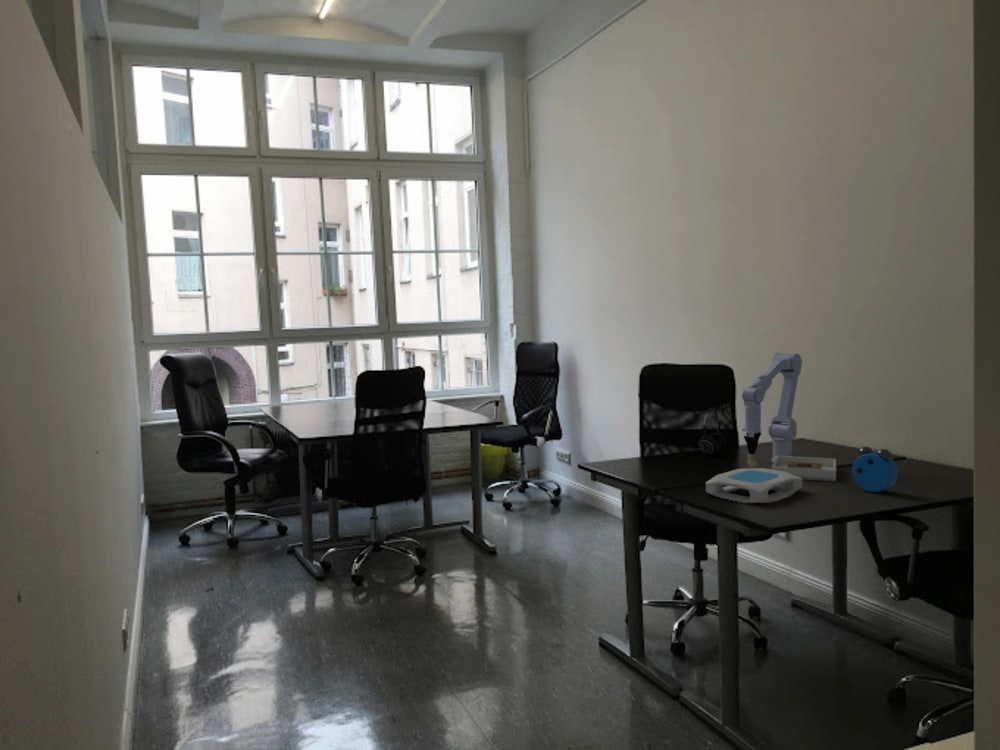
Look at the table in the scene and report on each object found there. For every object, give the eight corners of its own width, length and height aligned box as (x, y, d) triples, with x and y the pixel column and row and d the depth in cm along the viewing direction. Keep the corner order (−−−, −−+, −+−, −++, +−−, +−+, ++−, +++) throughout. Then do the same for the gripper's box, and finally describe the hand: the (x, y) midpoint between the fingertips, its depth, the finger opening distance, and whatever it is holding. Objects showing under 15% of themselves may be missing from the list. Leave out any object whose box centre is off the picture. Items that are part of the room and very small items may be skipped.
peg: (748, 467, 310) (748, 449, 310) (757, 467, 309) (757, 450, 308) (747, 469, 307) (747, 451, 306) (757, 469, 306) (757, 452, 305)
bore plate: (788, 466, 306) (788, 461, 306) (821, 468, 301) (821, 463, 301) (786, 472, 295) (786, 467, 295) (821, 474, 290) (821, 469, 290)
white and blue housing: (803, 491, 271) (803, 474, 271) (760, 507, 253) (760, 488, 252) (748, 482, 287) (748, 465, 286) (704, 496, 269) (704, 478, 268)
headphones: (694, 455, 337) (694, 408, 335) (711, 449, 348) (711, 404, 346) (713, 457, 331) (713, 410, 329) (729, 451, 342) (729, 406, 340)
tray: (775, 465, 312) (775, 455, 312) (835, 468, 304) (835, 458, 303) (771, 477, 292) (771, 466, 292) (835, 481, 284) (836, 470, 283)
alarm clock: (897, 492, 266) (899, 449, 264) (889, 496, 262) (890, 451, 260) (860, 486, 276) (861, 444, 275) (851, 489, 272) (851, 446, 271)
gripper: (744, 415, 314) (743, 448, 316) (740, 420, 301) (739, 455, 302) (762, 415, 312) (762, 449, 313) (759, 421, 298) (759, 456, 300)
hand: (752, 452), depth 307 cm, fingers open, 7 cm apart
